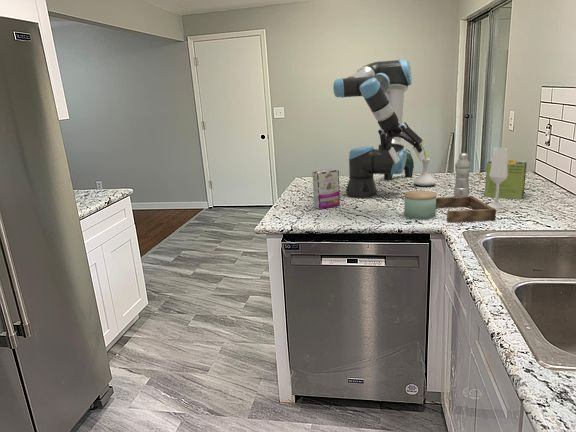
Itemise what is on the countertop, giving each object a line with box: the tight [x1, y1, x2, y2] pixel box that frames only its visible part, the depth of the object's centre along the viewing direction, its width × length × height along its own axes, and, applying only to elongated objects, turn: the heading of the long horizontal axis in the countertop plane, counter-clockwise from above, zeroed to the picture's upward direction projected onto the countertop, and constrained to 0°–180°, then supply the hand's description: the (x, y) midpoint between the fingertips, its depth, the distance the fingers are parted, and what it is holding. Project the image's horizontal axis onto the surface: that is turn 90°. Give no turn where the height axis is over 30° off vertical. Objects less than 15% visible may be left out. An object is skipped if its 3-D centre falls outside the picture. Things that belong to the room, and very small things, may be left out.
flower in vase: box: [413, 137, 437, 187], centre depth 226 cm, size 13×11×25 cm
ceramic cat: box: [383, 148, 415, 182], centre depth 249 cm, size 20×6×20 cm, turn 114°
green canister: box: [403, 190, 438, 220], centre depth 175 cm, size 12×12×9 cm
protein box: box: [484, 159, 528, 200], centre depth 198 cm, size 10×15×16 cm
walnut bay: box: [436, 195, 497, 223], centre depth 175 cm, size 18×23×4 cm
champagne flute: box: [487, 147, 508, 209], centre depth 180 cm, size 7×7×24 cm
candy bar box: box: [312, 168, 341, 210], centre depth 195 cm, size 11×5×16 cm, turn 118°
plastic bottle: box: [453, 152, 471, 197], centre depth 199 cm, size 6×7×20 cm
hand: (409, 160), depth 179 cm, fingers open, 13 cm apart
